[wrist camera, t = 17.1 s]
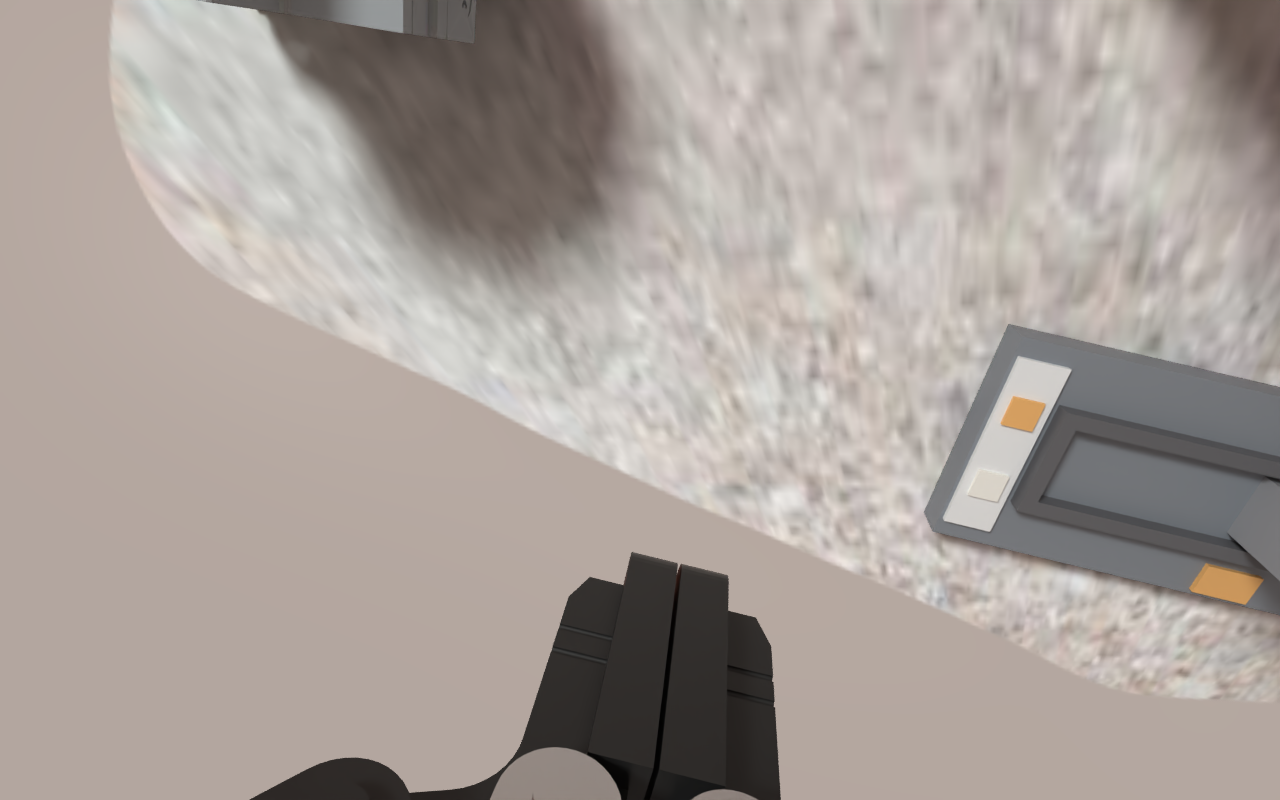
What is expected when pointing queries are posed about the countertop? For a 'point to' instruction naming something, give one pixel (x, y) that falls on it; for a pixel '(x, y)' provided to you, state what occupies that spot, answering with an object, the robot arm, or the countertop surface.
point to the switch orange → (1261, 525)
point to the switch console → (1114, 466)
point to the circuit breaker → (382, 14)
